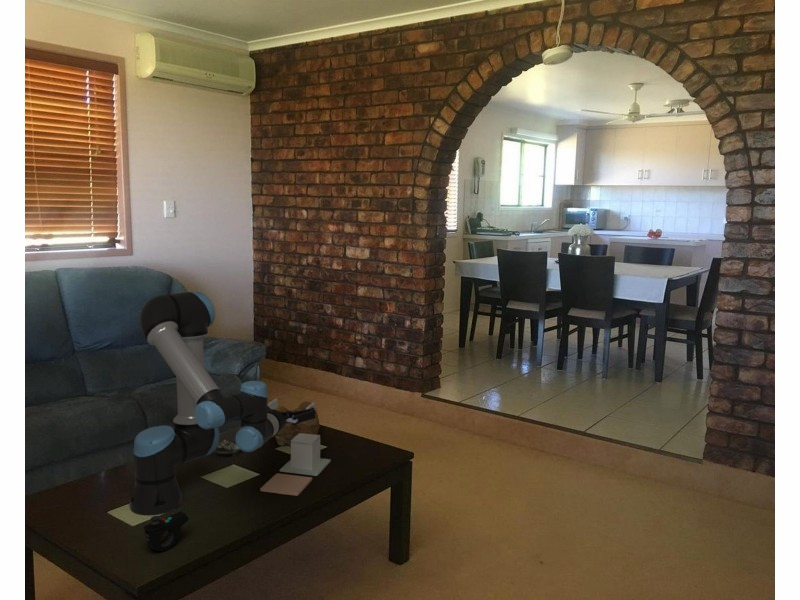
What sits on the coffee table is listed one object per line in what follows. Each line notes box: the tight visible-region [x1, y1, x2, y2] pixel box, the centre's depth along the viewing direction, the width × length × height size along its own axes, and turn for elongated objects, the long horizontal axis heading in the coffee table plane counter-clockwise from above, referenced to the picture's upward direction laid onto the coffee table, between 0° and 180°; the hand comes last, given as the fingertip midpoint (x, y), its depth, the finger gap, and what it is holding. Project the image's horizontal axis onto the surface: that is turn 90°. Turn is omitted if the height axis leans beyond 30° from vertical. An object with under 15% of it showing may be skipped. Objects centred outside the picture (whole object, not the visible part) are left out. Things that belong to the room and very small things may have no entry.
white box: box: [290, 433, 321, 470], centre depth 233 cm, size 8×8×10 cm
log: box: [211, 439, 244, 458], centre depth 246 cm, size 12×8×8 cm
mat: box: [279, 457, 332, 477], centre depth 233 cm, size 14×14×1 cm
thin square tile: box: [259, 473, 313, 497], centre depth 217 cm, size 13×13×1 cm
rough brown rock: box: [273, 401, 321, 447], centre depth 255 cm, size 23×17×15 cm
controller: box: [143, 511, 189, 552], centre depth 175 cm, size 4×12×10 cm, turn 146°
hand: (295, 404), depth 220 cm, fingers open, 13 cm apart
